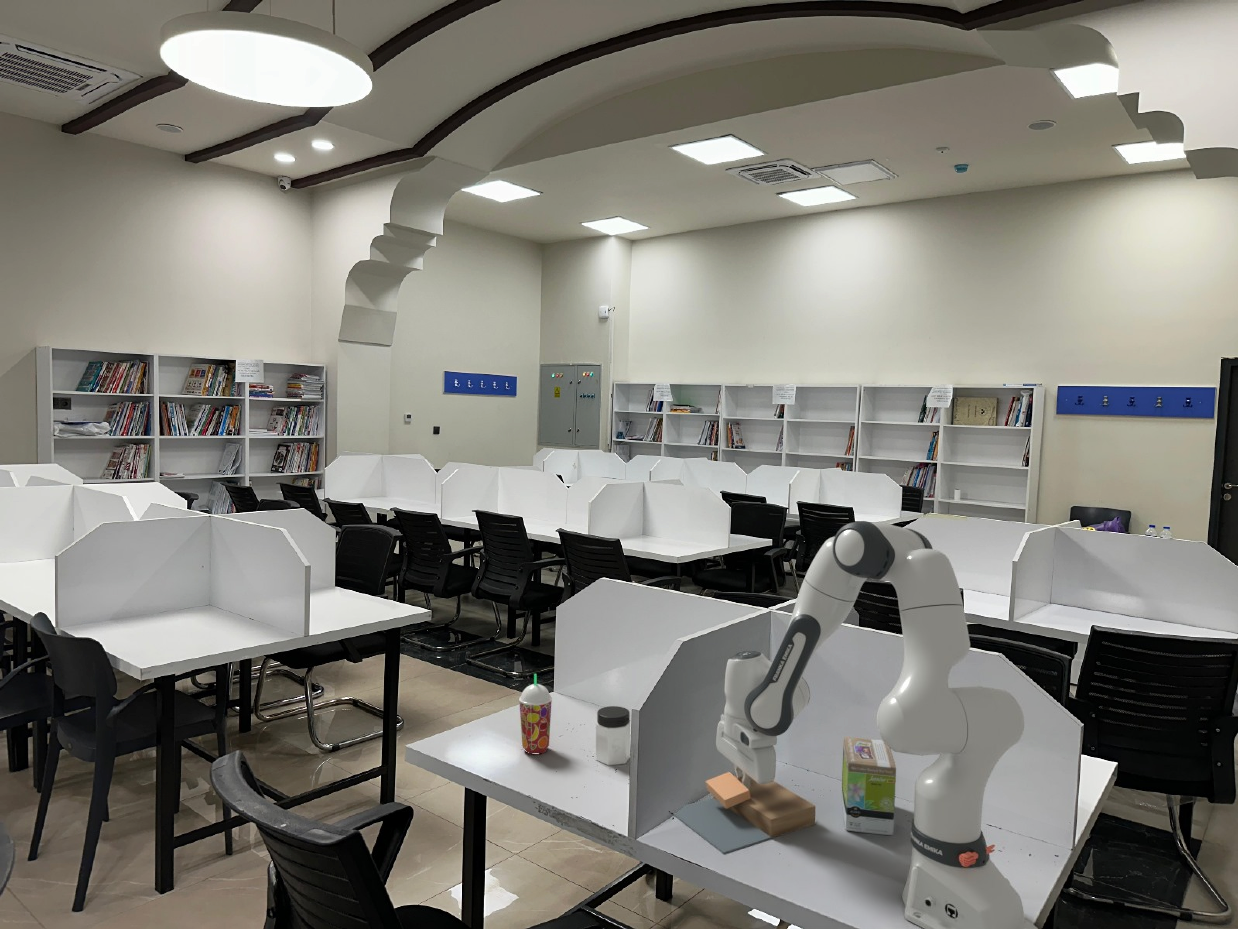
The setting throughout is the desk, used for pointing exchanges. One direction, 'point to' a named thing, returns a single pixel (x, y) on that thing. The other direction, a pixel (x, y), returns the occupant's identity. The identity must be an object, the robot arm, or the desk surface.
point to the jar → (613, 735)
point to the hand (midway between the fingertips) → (743, 786)
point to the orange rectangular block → (728, 790)
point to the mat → (720, 825)
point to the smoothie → (535, 717)
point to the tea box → (868, 786)
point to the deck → (775, 809)
